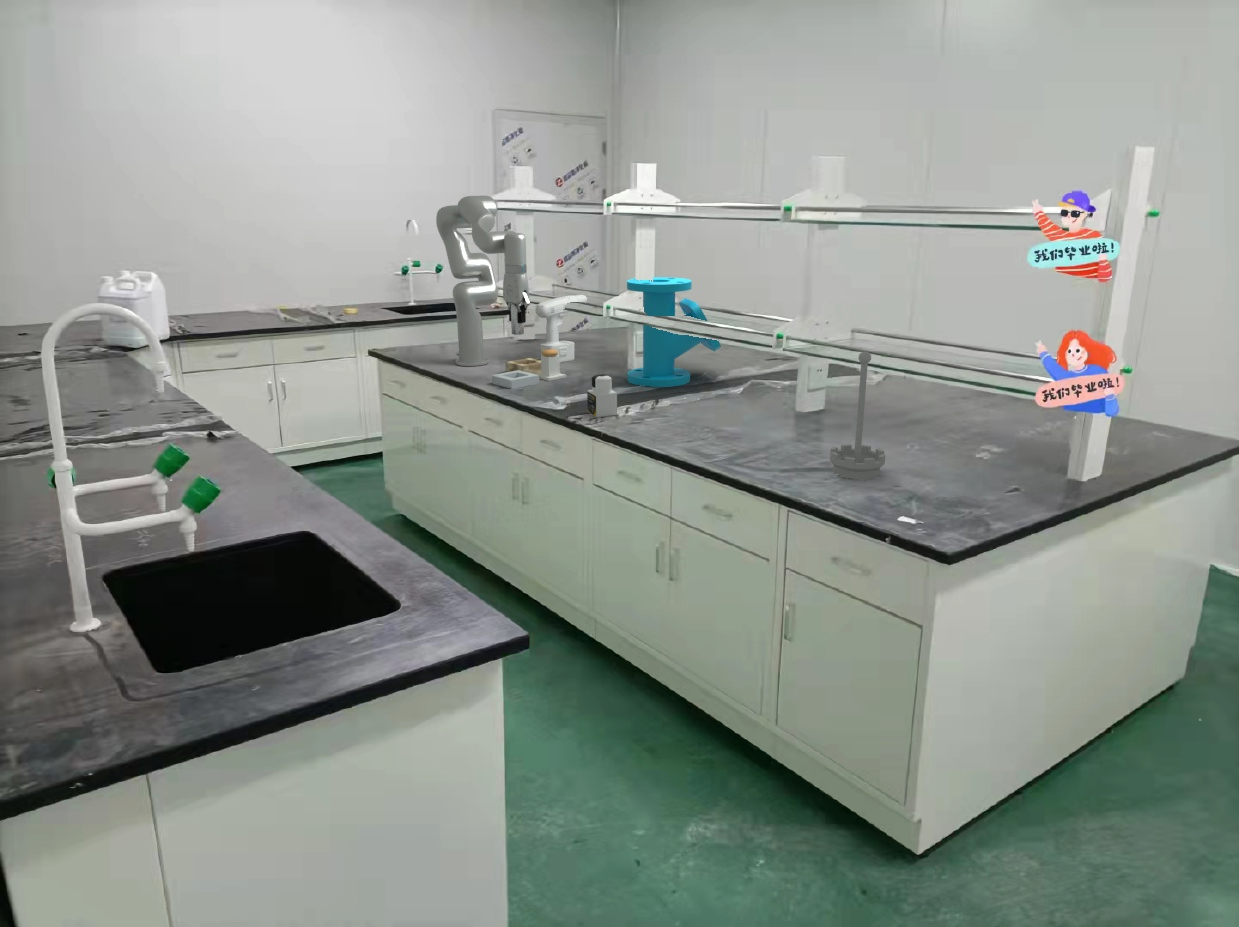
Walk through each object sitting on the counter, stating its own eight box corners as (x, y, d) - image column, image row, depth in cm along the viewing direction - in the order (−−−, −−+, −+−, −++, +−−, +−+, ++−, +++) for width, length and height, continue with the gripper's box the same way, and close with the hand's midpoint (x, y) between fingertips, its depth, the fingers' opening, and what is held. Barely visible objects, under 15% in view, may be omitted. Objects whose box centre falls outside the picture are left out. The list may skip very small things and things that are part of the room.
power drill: (593, 357, 360) (592, 294, 353) (545, 365, 345) (543, 300, 337) (580, 354, 366) (579, 292, 359) (532, 362, 351) (530, 298, 343)
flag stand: (886, 482, 212) (897, 357, 203) (830, 479, 214) (838, 356, 205) (880, 465, 224) (891, 347, 215) (827, 463, 226) (835, 345, 217)
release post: (535, 377, 325) (534, 355, 323) (552, 374, 330) (551, 352, 328) (548, 380, 319) (548, 358, 317) (566, 377, 325) (565, 355, 322)
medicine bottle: (587, 412, 277) (586, 374, 273) (608, 410, 279) (608, 372, 276) (595, 417, 270) (595, 379, 267) (617, 415, 273) (617, 376, 269)
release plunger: (539, 373, 325) (538, 350, 322) (551, 370, 328) (551, 348, 326) (549, 375, 321) (548, 352, 318) (561, 373, 324) (560, 350, 322)
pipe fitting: (621, 375, 328) (620, 278, 317) (704, 370, 334) (706, 275, 323) (635, 388, 307) (635, 285, 296) (723, 383, 313) (726, 282, 302)
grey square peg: (509, 333, 319) (508, 302, 315) (519, 332, 321) (518, 301, 318) (516, 335, 315) (515, 304, 312) (526, 333, 318) (525, 302, 315)
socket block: (491, 383, 316) (491, 375, 315) (519, 378, 324) (518, 370, 323) (511, 388, 308) (511, 380, 307) (539, 383, 316) (539, 375, 315)
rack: (506, 372, 334) (505, 362, 332) (529, 368, 341) (529, 358, 340) (523, 377, 326) (523, 366, 325) (547, 372, 333) (547, 362, 332)
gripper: (493, 268, 315) (495, 320, 321) (520, 272, 303) (522, 326, 309) (510, 266, 320) (512, 317, 325) (538, 271, 308) (540, 324, 313)
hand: (517, 321), depth 317 cm, fingers closed on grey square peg, 4 cm apart
